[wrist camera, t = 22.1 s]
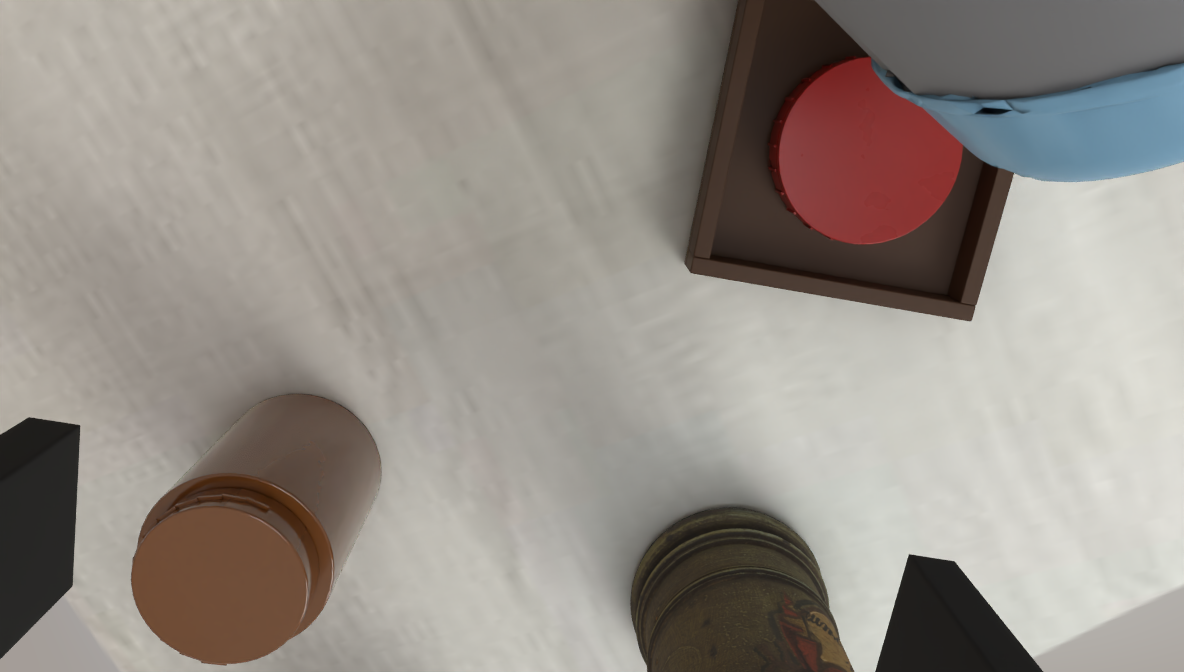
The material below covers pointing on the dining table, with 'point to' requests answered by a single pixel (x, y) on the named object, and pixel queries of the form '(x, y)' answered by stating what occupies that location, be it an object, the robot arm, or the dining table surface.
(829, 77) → the lid
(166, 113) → the dining table surface
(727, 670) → the container
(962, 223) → the tray
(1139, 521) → the dining table surface
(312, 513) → the jar
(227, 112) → the dining table surface
